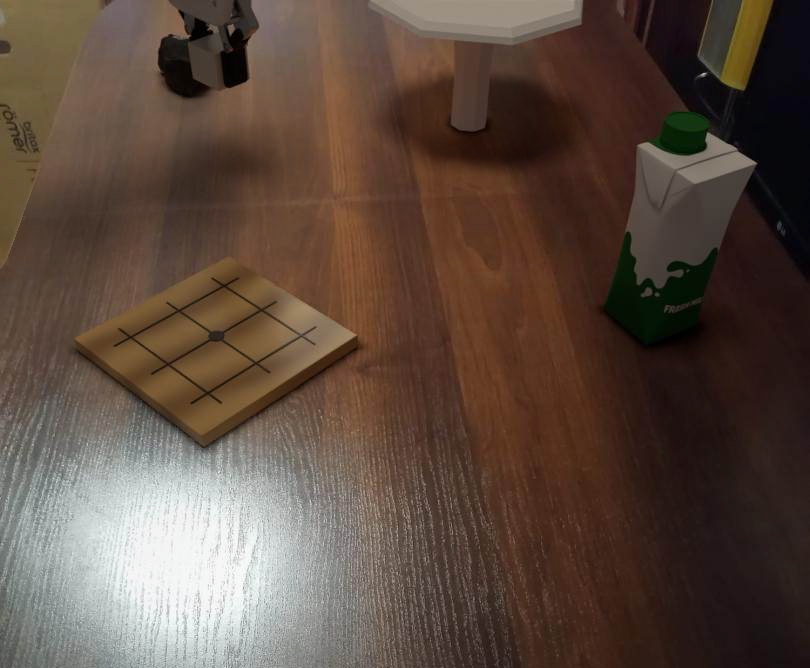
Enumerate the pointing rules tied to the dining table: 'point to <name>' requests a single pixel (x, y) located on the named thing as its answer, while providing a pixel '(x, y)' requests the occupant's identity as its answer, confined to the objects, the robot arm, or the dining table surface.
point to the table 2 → (479, 38)
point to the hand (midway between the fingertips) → (221, 75)
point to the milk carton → (675, 226)
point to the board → (216, 348)
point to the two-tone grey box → (209, 61)
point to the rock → (176, 63)
